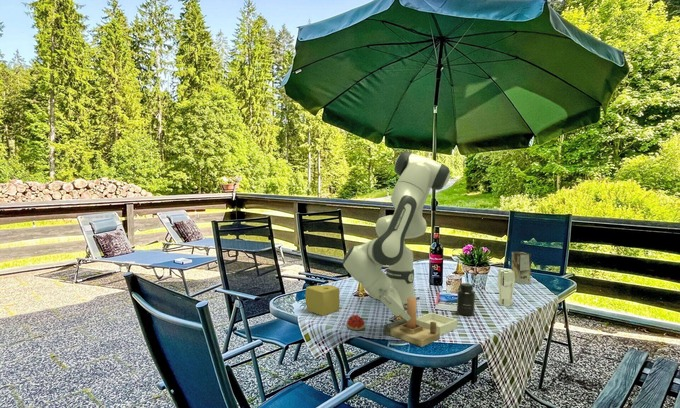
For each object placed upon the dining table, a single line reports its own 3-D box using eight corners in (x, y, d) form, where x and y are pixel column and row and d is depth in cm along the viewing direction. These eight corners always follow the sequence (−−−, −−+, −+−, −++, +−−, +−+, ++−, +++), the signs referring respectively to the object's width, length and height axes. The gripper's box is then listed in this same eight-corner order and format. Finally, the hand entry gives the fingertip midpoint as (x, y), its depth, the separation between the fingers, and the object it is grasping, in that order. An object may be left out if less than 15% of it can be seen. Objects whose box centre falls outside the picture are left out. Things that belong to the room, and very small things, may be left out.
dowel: (404, 329, 135) (405, 298, 135) (410, 327, 137) (411, 297, 137) (412, 332, 133) (412, 300, 132) (417, 330, 135) (418, 299, 134)
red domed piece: (362, 322, 149) (362, 313, 149) (367, 331, 139) (367, 321, 139) (345, 322, 148) (345, 313, 148) (348, 332, 139) (348, 322, 138)
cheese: (323, 305, 169) (323, 282, 168) (340, 311, 161) (341, 287, 161) (304, 310, 162) (305, 287, 161) (322, 317, 154) (322, 292, 153)
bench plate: (382, 333, 137) (382, 318, 137) (404, 325, 145) (404, 310, 145) (419, 347, 125) (420, 330, 125) (440, 338, 133) (441, 322, 133)
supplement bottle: (465, 317, 155) (466, 287, 154) (453, 312, 161) (453, 283, 160) (478, 314, 158) (478, 285, 157) (465, 309, 164) (466, 281, 163)
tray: (413, 327, 143) (413, 318, 143) (431, 320, 151) (431, 312, 151) (439, 335, 135) (439, 327, 135) (457, 328, 143) (457, 319, 142)
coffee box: (530, 283, 208) (531, 254, 208) (519, 284, 208) (520, 254, 207) (521, 279, 218) (521, 251, 217) (510, 280, 217) (511, 251, 216)
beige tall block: (515, 307, 168) (516, 272, 167) (498, 306, 169) (499, 272, 169) (512, 302, 175) (512, 269, 174) (495, 301, 176) (496, 268, 176)
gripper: (388, 287, 124) (418, 318, 124) (384, 273, 145) (410, 299, 145) (374, 301, 125) (404, 331, 125) (372, 284, 145) (398, 311, 145)
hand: (407, 314), depth 135 cm, fingers open, 8 cm apart
